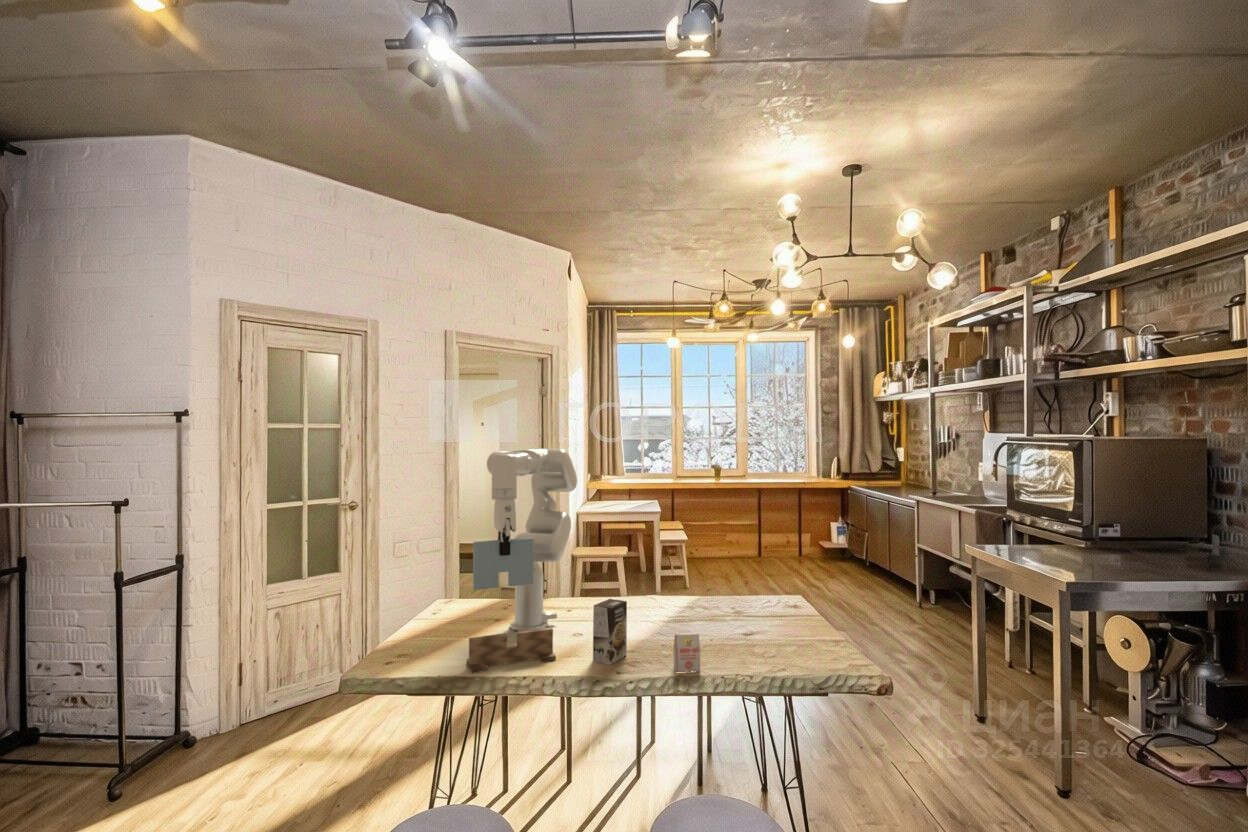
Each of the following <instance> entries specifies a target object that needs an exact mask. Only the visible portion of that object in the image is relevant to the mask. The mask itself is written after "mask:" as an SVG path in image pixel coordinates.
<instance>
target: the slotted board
mask: <svg viewBox="0 0 1248 832" xmlns="http://www.w3.org/2000/svg"><path fill="white" fill-rule="evenodd" d="M553 635H554V629H553V628H552V627H551V626H550V627H546V628H541V629H534V630H526V631H516V645H512V646H507V645H508V643H507V642H508V639H507V638H508V637H507V636H508V635H507V634H506V633H505V632H504V633H498V634H491V635H490V634H489V635H484V636H483V635H481V636H476V637H469V638H468V658H467V659H466V664H467V666H468V668H469V670H470V672H471V674H475V673H474V672H476V673H480V672H479V671H483V672H486V671H485V670H487V668H488V667H491V666H490V665H495V666H500V665H499V664H501V665H506V664H505V663H508V664H514V663H518V662H519V661H521V662H525V661H524V660H527V661H530V660H529V659H534V660H540V661H541V662H542V663H545V662H552V661H556V659H557V658H556V657H557V656H556V654H555V653H554V645H553V643H554V636H553ZM538 658H540V659H538ZM513 662H514V663H513ZM519 663H520V662H519ZM487 666H488V667H487Z"/></svg>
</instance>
